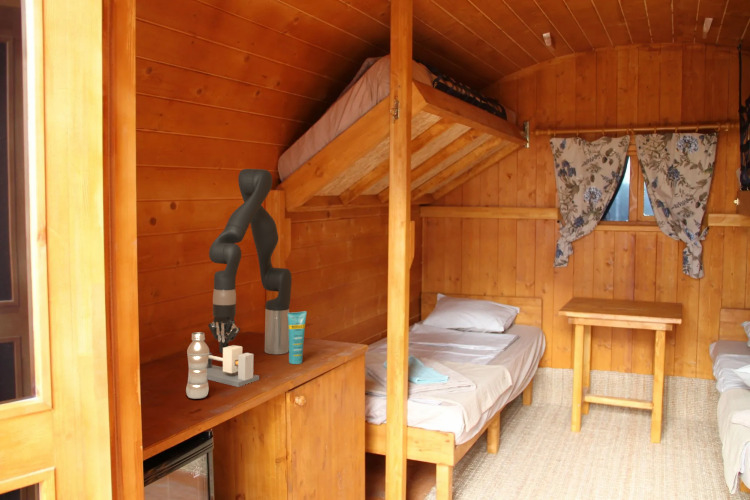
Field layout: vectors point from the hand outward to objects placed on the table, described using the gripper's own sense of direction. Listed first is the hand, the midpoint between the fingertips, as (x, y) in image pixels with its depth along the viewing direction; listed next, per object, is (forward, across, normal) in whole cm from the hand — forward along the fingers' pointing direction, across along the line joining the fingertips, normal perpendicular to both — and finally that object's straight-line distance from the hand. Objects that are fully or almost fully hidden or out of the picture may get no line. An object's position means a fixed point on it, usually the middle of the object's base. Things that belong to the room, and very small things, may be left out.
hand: (223, 352), depth 225 cm
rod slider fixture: (+8, -1, 0) cm, 9 cm away
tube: (+9, -8, -30) cm, 32 cm away
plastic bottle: (+9, -9, +21) cm, 24 cm away
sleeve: (+6, -4, 0) cm, 7 cm away
